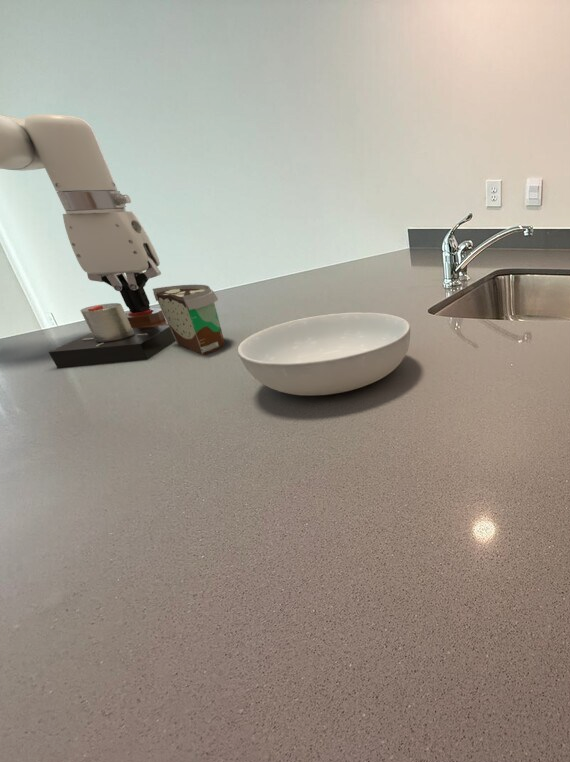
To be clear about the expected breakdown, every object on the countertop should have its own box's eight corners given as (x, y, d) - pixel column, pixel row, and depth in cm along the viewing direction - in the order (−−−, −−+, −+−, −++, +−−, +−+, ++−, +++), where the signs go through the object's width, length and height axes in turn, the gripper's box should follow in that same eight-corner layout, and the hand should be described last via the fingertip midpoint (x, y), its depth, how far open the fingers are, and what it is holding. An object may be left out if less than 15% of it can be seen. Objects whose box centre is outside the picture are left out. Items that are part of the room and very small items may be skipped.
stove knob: (108, 333, 68) (92, 302, 66) (140, 331, 69) (127, 300, 67) (88, 343, 64) (71, 310, 61) (123, 340, 65) (107, 307, 62)
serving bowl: (446, 375, 57) (441, 328, 54) (291, 438, 43) (273, 380, 40) (369, 342, 70) (362, 303, 67) (232, 383, 56) (215, 336, 53)
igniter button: (129, 323, 75) (124, 313, 74) (138, 318, 78) (135, 309, 77) (148, 321, 76) (144, 312, 75) (158, 316, 78) (154, 307, 78)
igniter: (105, 342, 73) (95, 321, 72) (131, 329, 80) (122, 309, 79) (168, 337, 75) (159, 316, 74) (188, 324, 82) (181, 305, 81)
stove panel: (58, 370, 62) (47, 351, 61) (101, 347, 71) (92, 330, 70) (148, 361, 65) (139, 342, 63) (179, 340, 73) (172, 324, 72)
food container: (247, 346, 70) (228, 288, 65) (208, 358, 65) (184, 296, 61) (213, 335, 76) (193, 281, 71) (174, 345, 71) (150, 288, 67)
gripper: (156, 201, 73) (194, 302, 81) (57, 204, 70) (107, 308, 78) (132, 202, 66) (176, 312, 74) (21, 206, 63) (79, 320, 71)
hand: (140, 310), depth 76 cm, fingers closed
